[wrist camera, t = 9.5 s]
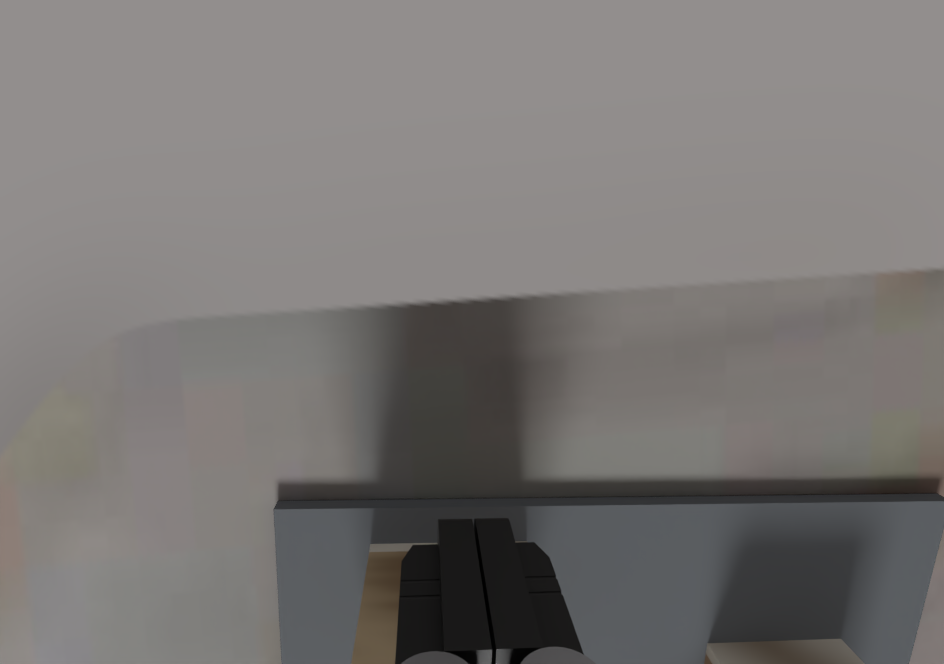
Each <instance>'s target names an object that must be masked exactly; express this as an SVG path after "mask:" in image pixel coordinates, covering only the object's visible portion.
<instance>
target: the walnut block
mask: <svg viewBox="0 0 944 664" xmlns="http://www.w3.org/2000/svg"><path fill="white" fill-rule="evenodd" d="M704 664H864V663H863V661H862V660H861V659H860V658H859V657H858V656H857V655H856V654H855V653H854V652H853V651H852V650H851V649H850V648H849V647H848V646H847V645H846V644H845V643H844V641H843V640H842V639H817V640H788V641H760V642H732V643H707V649H706V655H705V662H704Z"/></svg>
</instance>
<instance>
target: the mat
mask: <svg viewBox="0 0 944 664" xmlns="http://www.w3.org/2000/svg"><path fill="white" fill-rule="evenodd" d="M475 518H509V521H510V524H511V528H512V532H513V535H514V539H515V541H527V542H535V543H536V544H537V545H538V546H539V547H540V548H541V549H542V550H543V551H544V552H545V553H546V554H547V555H548V556H549V557H550V560H551V563H552V566H553V568H554V571H555V574H556V579H557V580H558V583H559V585H560V588H561V593H562V595H563V597H564V600H565V602H566V605H567V608H568V611H569V614H570V617H571V619H572V622H573V625H574V628H575V631H576V634H577V636H578V639H579V642H580V645H581V648H582V651H583V653H584V655H585V656H587V657H588V658H590V659H591V660H592V661H593V662H595V663H596V664H704V662H705V655H706V649H707V643H732V642H760V641H788V640H817V639H842V640H843V641H844V643H845V644H846V645H847V646H848V647H849V648H850V649H851V650H852V651H853V652H854V653H855V654H856V655H857V656H858V657H859V658H860V659H861V660H862V661H863V663H864V664H909V661H910V658H911V654H912V650H913V646H914V642H915V638H916V634H917V630H918V626H919V622H920V618H921V615H922V611H923V607H924V603H925V599H926V595H927V591H928V587H929V583H930V579H931V576H932V572H933V568H934V564H935V560H936V556H937V552H938V548H939V544H940V540H941V537H942V533H943V529H944V497H943V496H941V495H939V494H853V495H763V496H673V497H582V498H492V499H402V500H312V501H278V502H277V504H276V506H275V508H274V526H275V545H276V564H277V584H278V603H279V622H280V641H281V661H282V664H351V662H352V655H353V649H354V643H355V637H356V631H357V624H358V618H359V612H360V606H361V599H362V593H363V587H364V581H365V575H366V568H367V562H368V556H369V550H370V544H395V543H437V529H438V519H472V521H473V523H474V519H475Z"/></svg>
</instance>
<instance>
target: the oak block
mask: <svg viewBox="0 0 944 664" xmlns="http://www.w3.org/2000/svg"><path fill="white" fill-rule="evenodd" d="M516 542H527V541H515V543H516ZM429 544H437V543H395V544H370V550H369V556H368V562H367V568H366V575H365V581H364V587H363V593H362V599H361V606H360V612H359V618H358V624H357V631H356V637H355V643H354V649H353V655H352V662H351V664H395V657H396V641H397V625H398V609H399V593H400V577H401V561H402V560H403V558H404V557H405V555H406V554H407V552H408V551H409V550H410V548H411V547H412V545H429Z"/></svg>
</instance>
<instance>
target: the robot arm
mask: <svg viewBox="0 0 944 664" xmlns="http://www.w3.org/2000/svg"><path fill="white" fill-rule="evenodd" d="M395 664H596V663H595V662H593V661H592V660H591V659H590V658H588V657H587V656H585V655H584V653H583V651H582V648H581V645H580V642H579V639H578V636H577V634H576V631H575V628H574V625H573V622H572V619H571V617H570V614H569V611H568V608H567V605H566V602H565V600H564V597H563V595H562V593H561V588H560V585H559V583H558V580H557V579H556V574H555V571H554V568H553V566H552V563H551V560H550V557H549V556H548V555H547V554H546V553H545V552H544V551H543V550H542V549H541V548H540V547H539V546H538V545H537V544H536V543H535V542H516V543H515V539H514V535H513V532H512V528H511V524H510V521H509V518H475V519H474V523H473V521H472V519H438V529H437V544H429V545H412V547H411V548H410V550H409V551H408V552H407V554H406V555H405V557H404V558H403V560H402V561H401V577H400V593H399V609H398V625H397V641H396V657H395Z"/></svg>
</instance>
